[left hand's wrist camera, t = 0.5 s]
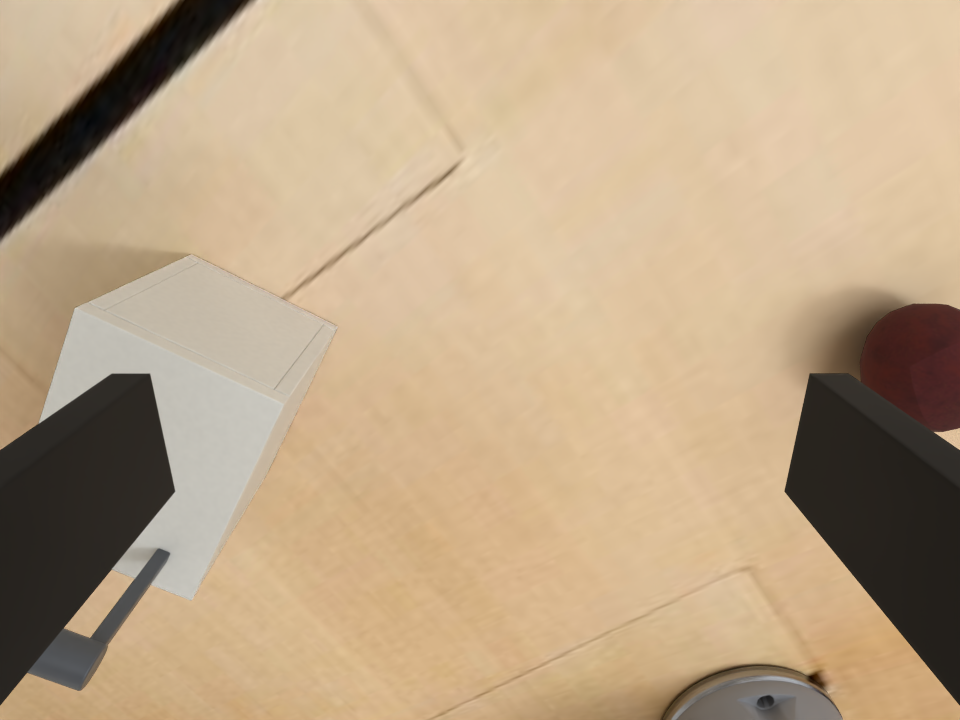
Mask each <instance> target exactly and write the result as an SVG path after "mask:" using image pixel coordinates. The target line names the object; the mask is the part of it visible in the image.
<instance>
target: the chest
mask: <svg viewBox="0 0 960 720" xmlns="http://www.w3.org/2000/svg"><path fill="white" fill-rule="evenodd" d="M88 303H89V304H91V305H93V306H95V307H97V308H99V309H102V310H104V311H106V312H108V313H110V314H112V315H114V316H117V317H119V318H121V319H123V320H125V321H127V322H129V323H132V324H134V325H136V326H138V327H140V328H142V329H144V330H147V331H149V332H151V333H153V334H155V335H157V336H159V337H162V338H164V339H166V340H168V341H170V342H172V343H174V344H177V345H179V346H181V347H183V348H185V349H187V350H190V351H192V352H194V353H196V354H198V355H200V356H202V357H205V358H207V359H209V360H211V361H213V362H215V363H217V364H220V365H222V366H224V367H226V368H228V369H230V370H232V371H235V372H237V373H239V374H241V375H243V376H245V377H247V378H250V379H252V380H254V381H256V382H258V383H260V384H262V385H265V386H267V387H269V388H271V389H273V390H275V391H277V392H280V393H282V394H284V395H286V396H288V397H289V399H288V401H287V403H286V406H285V408H284V410H283V412H282V414H281V416H280V418H279V420H278V423H277V425H276V427H275V429H274V431H273V433H272V435H271V437H270V439H269V442H268V444H267V446H266V448H265V450H264V452H263V454H262V456H261V458H260V461H259V463H258V465H257V467H256V469H255V471H254V473H253V475H252V477H251V480H250V482H249V484H248V486H247V488H246V490H245V492H244V494H243V496H242V499H241V501H240V503H239V505H238V507H237V509H236V511H235V513H234V515H233V518H232V520H231V522H230V524H229V526H228V528H227V530H226V532H225V534H224V537H223V539H222V541H221V543H220V545H219V547H218V549H217V551H216V553H215V556H214V558H213V560H212V562H211V564H210V566H209V568H208V570H207V572H206V575H207V573H208V572H209V570H210V568H211V567H212V565H213V563H214V562H215V560H216V558H217V557H218V555H219V553H220V552H221V550H222V548H223V547H224V545H225V543H226V542H227V540H228V538H229V537H230V535H231V533H232V532H233V530H234V528H235V527H236V525H237V523H238V522H239V520H240V519H241V517H242V515H243V514H244V512H245V510H246V509H247V507H248V505H249V504H250V502H251V500H252V499H253V497H254V495H255V494H256V492H257V490H258V489H259V487H260V485H261V484H262V482H263V480H264V479H265V477H266V475H267V473H268V471H269V469H270V467H271V465H272V463H273V461H274V458H275V456H276V454H277V452H278V450H279V448H280V446H281V444H282V442H283V440H284V438H285V436H286V434H287V432H288V430H289V427H290V425H291V423H292V421H293V419H294V417H295V415H296V413H297V411H298V409H299V407H300V405H301V403H302V401H303V398H304V396H305V394H306V392H307V390H308V388H309V386H310V384H311V382H312V380H313V378H314V376H315V374H316V372H317V369H318V367H319V365H320V363H321V361H322V359H323V357H324V355H325V353H326V351H327V349H328V347H329V345H330V343H331V341H332V338H333V336H334V334H335V332H336V330H337V328H338V326H336V325H334V324H332V323H330V322H328V321H326V320H324V319H322V318H320V317H318V316H316V315H314V314H312V313H310V312H308V311H306V310H304V309H302V308H300V307H298V306H295V305H293V304H291V303H289V302H287V301H285V300H283V299H281V298H279V297H277V296H275V295H273V294H271V293H269V292H267V291H265V290H263V289H261V288H259V287H257V286H255V285H253V284H251V283H249V282H247V281H245V280H243V279H241V278H239V277H237V276H235V275H233V274H231V273H229V272H227V271H225V270H223V269H221V268H219V267H217V266H215V265H213V264H211V263H209V262H207V261H205V260H203V259H201V258H199V257H196V256H194V255H192V254H190V255H188V256H186V257H184V258H182V259H180V260H178V261H175V262H173V263H171V264H169V265H167V266H165V267H162V268H160V269H158V270H156V271H154V272H152V273H149V274H147V275H145V276H143V277H141V278H139V279H137V280H134V281H132V282H130V283H128V284H126V285H124V286H121V287H119V288H117V289H115V290H113V291H111V292H108V293H106V294H104V295H102V296H100V297H98V298H95V299H93V300H91V301H89V302H88ZM206 575H205V577H206ZM205 577H204V578H205ZM203 580H204V579H203Z"/></svg>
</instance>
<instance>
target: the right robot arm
mask: <svg viewBox="0 0 960 720" xmlns="http://www.w3.org/2000/svg"><path fill="white" fill-rule="evenodd" d="M662 720H843V719H842V716H841V714H840V712H839V710H838V709H837V707H836V705H835V704H834V702H833V700H832V699H831V697H830V696H829V694H828V693H827V691H826V690H825V689H824V688H823V687H822V686H821V685H820V684H818V683H817V682H816V681H814V680H813V679H811V678H809V677H808V676H806V675H804V674H801V673H799V672H796V671H793V670H789V669H785V668H780V667H771V666H752V667H743V668H737V669H732V670H728V671H724V672H721V673H718V674H716V675H713V676H711V677H708V678H706V679H704V680H702V681H700V682H698V683H697V684H695V685H693V686H692V687H690V688H689V689H688V690H686V691H685V692H684V693H683V694H681V695H680V696H679V697H678V698H677V699H676V700H675V701H674V702H673V703H672V705H671V706H670V707H669V709H668V710H667V712H666V713H665V715H664V717H663V719H662Z"/></svg>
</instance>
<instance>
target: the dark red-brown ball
mask: <svg viewBox="0 0 960 720" xmlns="http://www.w3.org/2000/svg"><path fill="white" fill-rule="evenodd" d="M860 372H861V383H863V384H864V385H866V386H867V387H869V388H870V389H872V390H873V391H874V392H876V393H877V394H879V395H880V396H882V397H883V398H885V399H886V400H888V401H889V402H890V403H892V404H893V405H895V406H896V407H898V408H899V409H901V410H902V411H903V412H905V413H906V414H908V415H909V416H911V417H912V418H914V419H915V420H917V421H918V422H919V423H921V424H922V425H924V426H925V427H927V428H928V429H930V430H931V431H933V432H944V431H949V430H953V429H958V428H960V310H959V309H957V308H954V307H952V306H949V305H943V304H912V305H908V306H905V307H902V308H900V309H897V310H894V311H892V312H889V313H888V314H887V315H886V316H885V317H883V318H882V319H881V320H880V321H878V322H877V323H876V324H875V326H874V327H873V329H872V330H871V332H870V333H869V335H868V336H867V339H866V342H865V345H864V349H863V352H862V355H861V360H860Z"/></svg>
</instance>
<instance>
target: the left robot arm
mask: <svg viewBox="0 0 960 720" xmlns="http://www.w3.org/2000/svg"><path fill="white" fill-rule="evenodd" d="M174 493H175V487H174V482H173V478H172V473H171V468H170V464H169V459H168V454H167V450H166V445H165V440H164V436H163V431H162V426H161V422H160V417H159V412H158V408H157V403H156V398H155V394H154V389H153V384H152V380H151V375H150V373H112V374H110V375H109V376H107V377H106V378H104V379H103V380H102V381H100V382H99V383H97V384H96V385H94V386H93V387H91V388H90V389H88V390H87V391H86V392H84V393H83V394H81V395H80V396H78V397H77V398H75V399H74V400H72V401H71V402H70V403H68V404H67V405H65V406H64V407H62V408H61V409H59V410H58V411H57V412H55V413H54V414H52V415H51V416H49V417H48V418H46V419H45V420H43V421H42V422H41V423H39V424H38V425H36V426H35V427H33V428H32V429H30V430H29V431H27V432H26V433H25V434H23V435H22V436H20V437H19V438H17V439H16V440H14V441H13V442H11V443H10V444H9V445H7V446H6V447H4V448H3V449H1V450H0V705H1V704H2V703H3V701H4V700H5V699H6V698H7V697H8V695H9V694H10V693H11V692H12V690H13V689H14V688H15V687H16V686H17V684H18V683H19V682H20V681H21V679H22V678H23V677H24V676H25V675H26V673H27V672H28V671H29V670H30V668H31V667H32V666H33V665H34V664H35V662H36V661H37V660H38V659H39V657H40V656H41V655H42V654H43V653H44V651H45V650H46V649H47V648H48V646H49V645H50V644H51V643H52V642H53V640H54V639H55V638H56V637H57V635H58V634H59V633H60V632H61V631H62V629H63V628H64V627H65V626H66V625H67V623H68V622H69V621H70V620H71V618H72V617H73V616H74V615H75V614H76V612H77V611H78V610H79V609H80V607H81V606H82V605H83V604H84V603H85V601H86V600H87V599H88V598H89V596H90V595H91V594H92V593H93V592H94V590H95V589H96V588H97V587H98V585H99V584H100V583H101V582H102V581H103V579H104V578H105V577H106V576H107V574H108V573H109V572H110V571H111V570H112V568H113V567H114V566H115V565H116V563H117V562H118V561H119V560H120V559H121V557H122V556H123V555H124V554H125V553H126V551H127V550H128V549H129V548H130V546H131V545H132V544H133V543H134V542H135V540H136V539H137V538H138V537H139V535H140V534H141V533H142V532H143V531H144V529H145V528H146V527H147V526H148V524H149V523H150V522H151V521H152V520H153V518H154V517H155V516H156V515H157V513H158V512H159V511H160V510H161V509H162V507H163V506H164V505H165V504H166V502H167V501H168V500H169V499H170V498H171V496H172V495H173V494H174ZM785 493H786V494H787V495H788V496H789V498H790V499H791V500H792V501H793V502H794V504H795V505H796V506H797V507H798V509H799V510H800V511H801V512H802V513H803V515H804V516H805V517H806V518H807V520H808V521H809V522H810V523H811V524H812V526H813V527H814V528H815V529H816V531H817V532H818V533H819V534H820V535H821V537H822V538H823V539H824V540H825V542H826V543H827V544H828V545H829V546H830V548H831V549H832V550H833V551H834V553H835V554H836V555H837V556H838V557H839V559H840V560H841V561H842V562H843V563H844V565H845V566H846V567H847V568H848V570H849V571H850V572H851V573H852V574H853V576H854V577H855V578H856V579H857V581H858V582H859V583H860V584H861V585H862V587H863V588H864V589H865V590H866V592H867V593H868V594H869V595H870V596H871V598H872V599H873V600H874V601H875V603H876V604H877V605H878V606H879V607H880V609H881V610H882V611H883V612H884V614H885V615H886V616H887V617H888V618H889V620H890V621H891V622H892V623H893V625H894V626H895V627H896V628H897V629H898V631H899V632H900V633H901V634H902V635H903V637H904V638H905V639H906V640H907V642H908V643H909V644H910V645H911V646H912V648H913V649H914V650H915V651H916V653H917V654H918V655H919V656H920V657H921V659H922V660H923V661H924V662H925V664H926V665H927V666H928V667H929V668H930V670H931V671H932V672H933V673H934V675H935V676H936V677H937V678H938V679H939V681H940V682H941V683H942V684H943V686H944V687H945V688H946V689H947V690H948V692H949V693H950V694H951V695H952V697H953V698H954V699H955V700H956V701H957V703H958V704H959V705H960V450H959V449H957V448H956V447H954V446H953V445H951V444H950V443H949V442H947V441H946V440H944V439H943V438H941V437H940V436H938V435H937V434H935V433H934V432H933V431H931V430H930V429H928V428H927V427H925V426H924V425H922V424H921V423H919V422H918V421H917V420H915V419H914V418H912V417H911V416H909V415H908V414H906V413H905V412H903V411H902V410H901V409H899V408H898V407H896V406H895V405H893V404H892V403H890V402H889V401H888V400H886V399H885V398H883V397H882V396H880V395H879V394H877V393H876V392H874V391H873V390H872V389H870V388H869V387H867V386H866V385H864V384H863V383H861V382H860V381H858V380H857V379H856V378H854V377H853V376H851V375H850V374H848V373H810V375H809V380H808V384H807V389H806V394H805V398H804V403H803V408H802V412H801V417H800V422H799V426H798V431H797V436H796V440H795V445H794V450H793V454H792V459H791V464H790V468H789V473H788V478H787V482H786V487H785Z"/></svg>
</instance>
